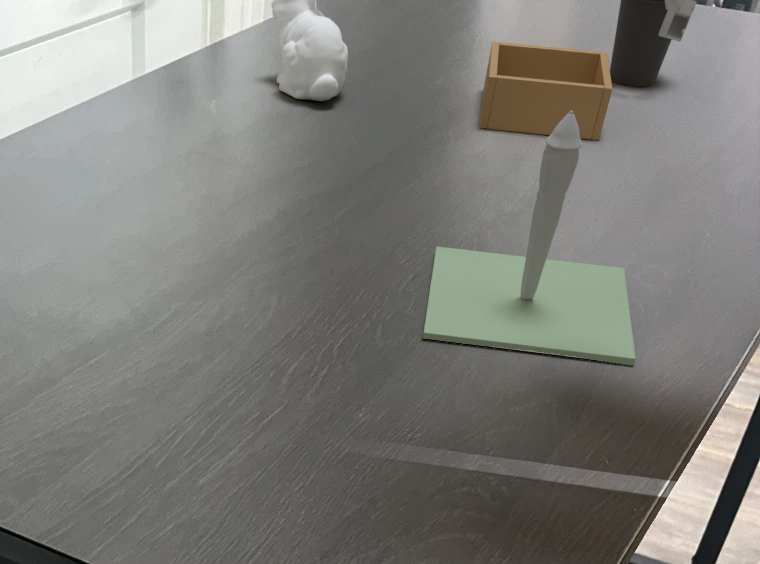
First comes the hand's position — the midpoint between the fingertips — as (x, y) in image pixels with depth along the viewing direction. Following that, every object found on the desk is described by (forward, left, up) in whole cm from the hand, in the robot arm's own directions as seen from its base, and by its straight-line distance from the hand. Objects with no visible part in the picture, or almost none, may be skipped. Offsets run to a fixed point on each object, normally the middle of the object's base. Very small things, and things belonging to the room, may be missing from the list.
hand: (743, 55), depth 70 cm
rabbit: (+34, -54, -21) cm, 67 cm away
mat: (+9, -6, -20) cm, 23 cm away
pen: (+9, -6, -20) cm, 23 cm away
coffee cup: (-3, -69, -21) cm, 72 cm away
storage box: (+8, -53, -20) cm, 57 cm away
